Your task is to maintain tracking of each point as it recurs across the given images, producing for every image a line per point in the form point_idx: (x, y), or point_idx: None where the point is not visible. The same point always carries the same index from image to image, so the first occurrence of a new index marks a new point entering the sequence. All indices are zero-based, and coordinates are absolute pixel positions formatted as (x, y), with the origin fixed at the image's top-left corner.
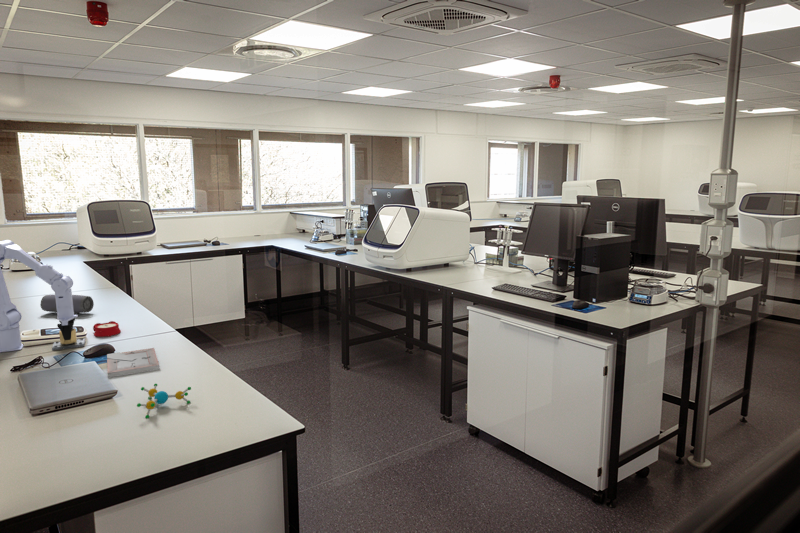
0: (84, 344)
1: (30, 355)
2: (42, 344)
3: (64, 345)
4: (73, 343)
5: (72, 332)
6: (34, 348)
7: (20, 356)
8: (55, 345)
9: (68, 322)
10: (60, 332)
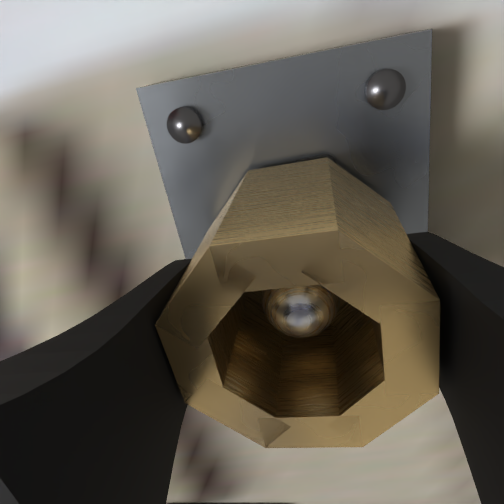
0: (321, 50)
1: None
2: None
3: None
4: None
5: (397, 257)
6: (277, 451)
7: (461, 492)
8: None
9: (107, 466)
10: (382, 426)
